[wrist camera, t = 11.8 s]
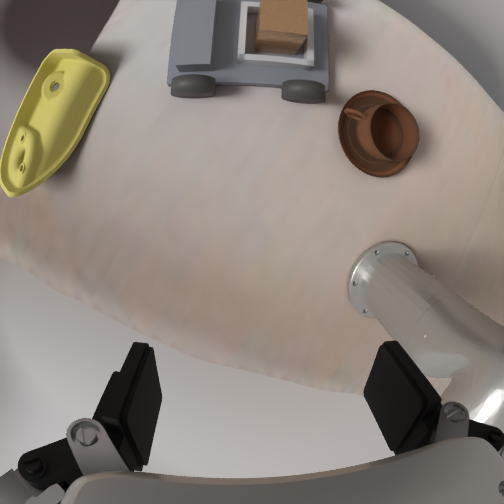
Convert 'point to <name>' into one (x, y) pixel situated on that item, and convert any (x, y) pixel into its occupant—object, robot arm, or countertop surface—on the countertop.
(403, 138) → the cup and saucer
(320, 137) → the countertop surface
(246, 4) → the chassis
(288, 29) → the wooden block
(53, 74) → the plastic component
